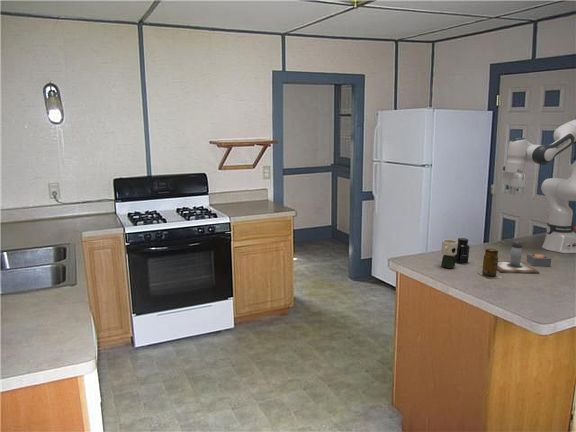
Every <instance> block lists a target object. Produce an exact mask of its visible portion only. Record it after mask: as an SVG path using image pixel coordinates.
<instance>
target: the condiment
mask: <svg viewBox="0 0 576 432" xmlns="http://www.w3.org/2000/svg"><path fill="white" fill-rule="evenodd" d="M498 255H499V251H498V249H496V248H486V249H485V251H484V254H483V264H482V271H481V272H478V275H481V276H483V277H486V278H487V279H503V278H504V277H503V276H501V275H499V274H498V273H497V272H498V271H497V265H498V261H499V256H498Z"/></svg>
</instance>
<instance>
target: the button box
mask: <svg viewBox="0 0 576 432" xmlns="http://www.w3.org/2000/svg"><path fill="white" fill-rule="evenodd" d="M535 254H536V253H527V254H526V261H525V263H527V264H529V265H530V266H532V267H544V268H546V267H549V268H550V267H551V266H552V258H551V257H549V256H548V255H546V254H544V253H539V254H540V255H544V258H536V257H534V255H535Z"/></svg>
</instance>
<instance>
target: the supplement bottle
mask: <svg viewBox="0 0 576 432" xmlns="http://www.w3.org/2000/svg"><path fill="white" fill-rule="evenodd" d="M457 242H458V247H457V254H456V255H454V259H455V264H460V265H467V264H468V263H469V258H470V257H469V256H470V248H471V247H470V245H469V239H468V238H464V237H459V238H457Z"/></svg>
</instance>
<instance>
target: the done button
mask: <svg viewBox="0 0 576 432" xmlns="http://www.w3.org/2000/svg"><path fill="white" fill-rule="evenodd" d="M534 254H535V255H534V257H536V258H544V255H545V254H544V255H540V254H541V253H534Z"/></svg>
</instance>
